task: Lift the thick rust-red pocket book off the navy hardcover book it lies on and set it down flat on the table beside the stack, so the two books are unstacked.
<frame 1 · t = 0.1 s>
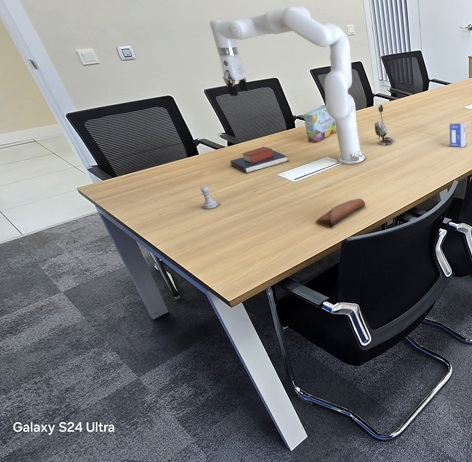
hand: (239, 93, 183), 31 cm above the table, tool pointing down, fingers open, 9 cm apart
hardcover book: (260, 163, 195), on the table, touching pocket book
sunglasses case: (341, 215, 152), on the table
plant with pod: (384, 143, 224), on the table
pocket book: (259, 158, 193), point 3 cm above the table, touching hardcover book
chess piece: (210, 206, 156), on the table
snack box: (323, 137, 231), on the table
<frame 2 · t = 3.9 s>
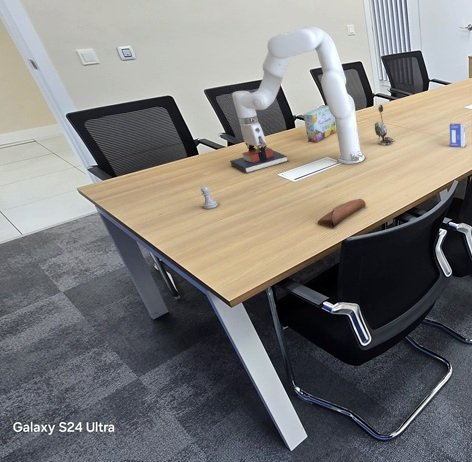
hand: (258, 157, 193), 3 cm above the table, tool pointing down, fingers closed on pocket book, 6 cm apart
pocket book: (259, 158, 193), point 3 cm above the table, touching gripper, hardcover book
everything else where it was.
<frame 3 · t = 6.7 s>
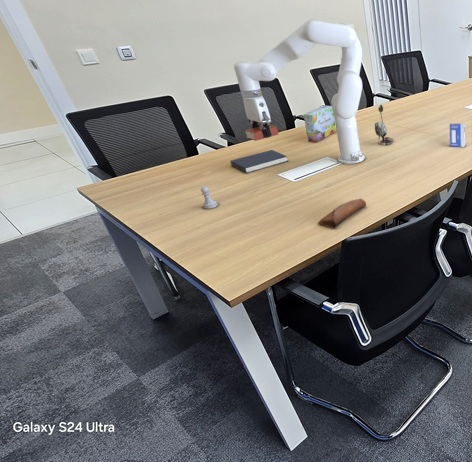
hand: (262, 135, 180), 16 cm above the table, tool pointing down, fingers closed on pocket book, 6 cm apart
hardcover book: (260, 163, 195), on the table
pocket book: (263, 136, 180), point 16 cm above the table, touching gripper
everything else where it was.
when the fingers open (0 cm above the table, at t = 9.9 s): pocket book stays where it is, on the table.
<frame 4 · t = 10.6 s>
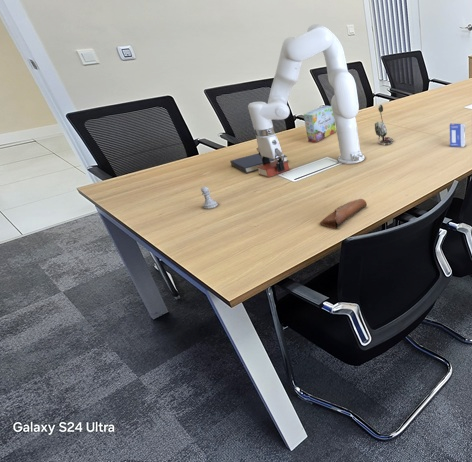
hand: (274, 169, 185), 1 cm above the table, tool pointing down, fingers open, 9 cm apart
pocket book: (274, 172, 186), on the table
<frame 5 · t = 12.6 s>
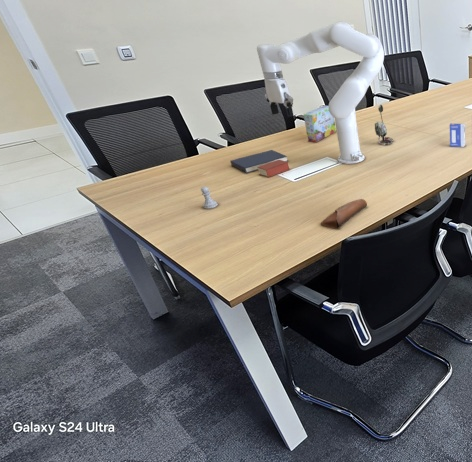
hand: (283, 115, 187), 22 cm above the table, tool pointing down, fingers open, 9 cm apart
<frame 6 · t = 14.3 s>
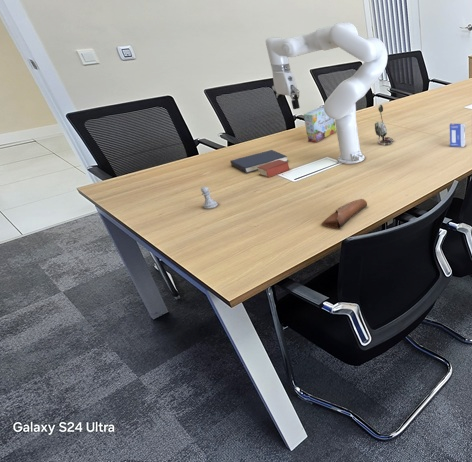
hand: (289, 107, 191), 24 cm above the table, tool pointing down, fingers open, 9 cm apart
at the end: pocket book inside the target area (0.1 cm from its centre), on the table; pocket book tilted 0°; hardcover book moved 0.0 cm from its start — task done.
